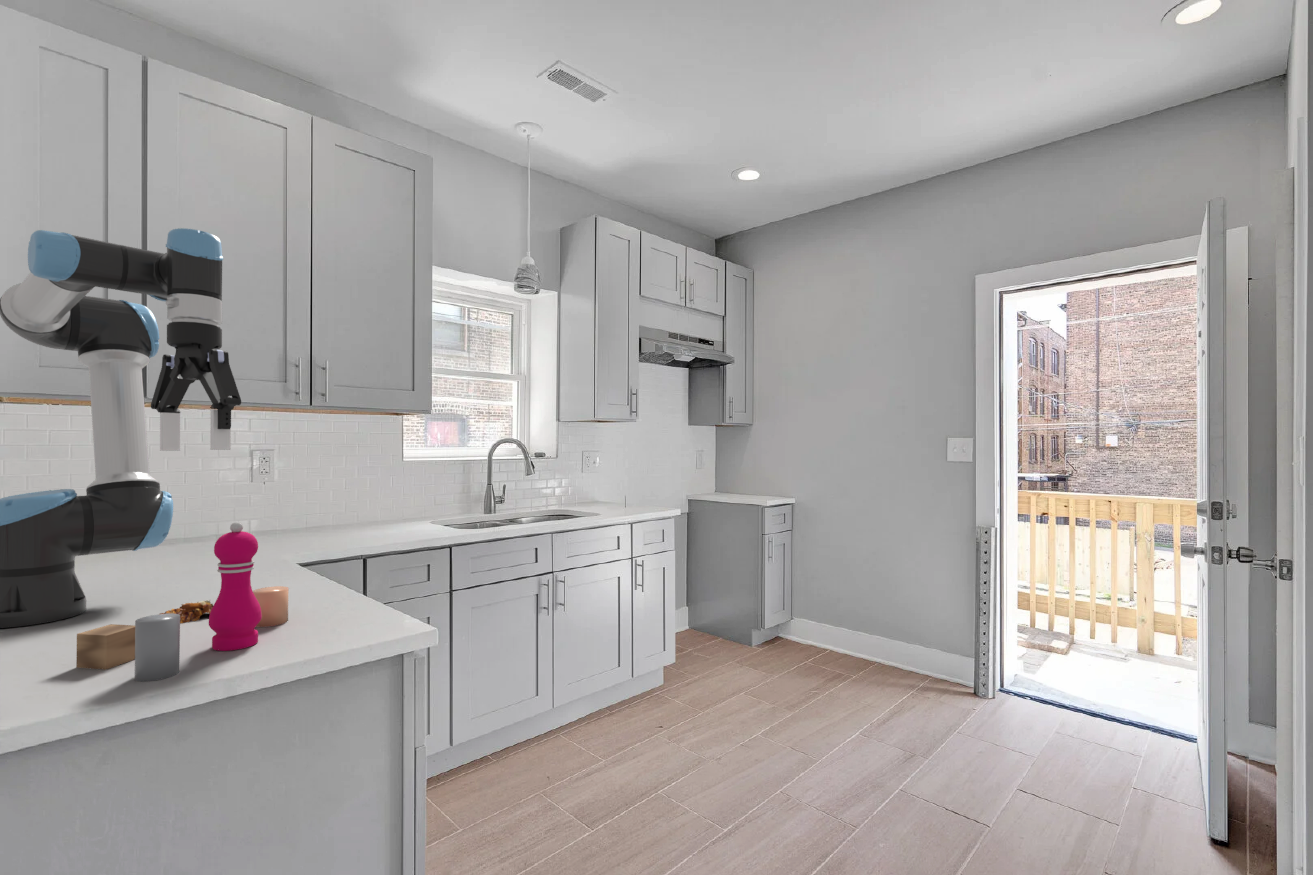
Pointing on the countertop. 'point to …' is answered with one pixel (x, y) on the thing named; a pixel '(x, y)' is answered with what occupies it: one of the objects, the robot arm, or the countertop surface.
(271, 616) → the peach rounded cylinder
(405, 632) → the countertop surface
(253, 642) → the pepper mill
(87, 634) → the tan block
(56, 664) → the countertop surface
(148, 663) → the grey cylinder
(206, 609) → the brown lumpy mound
